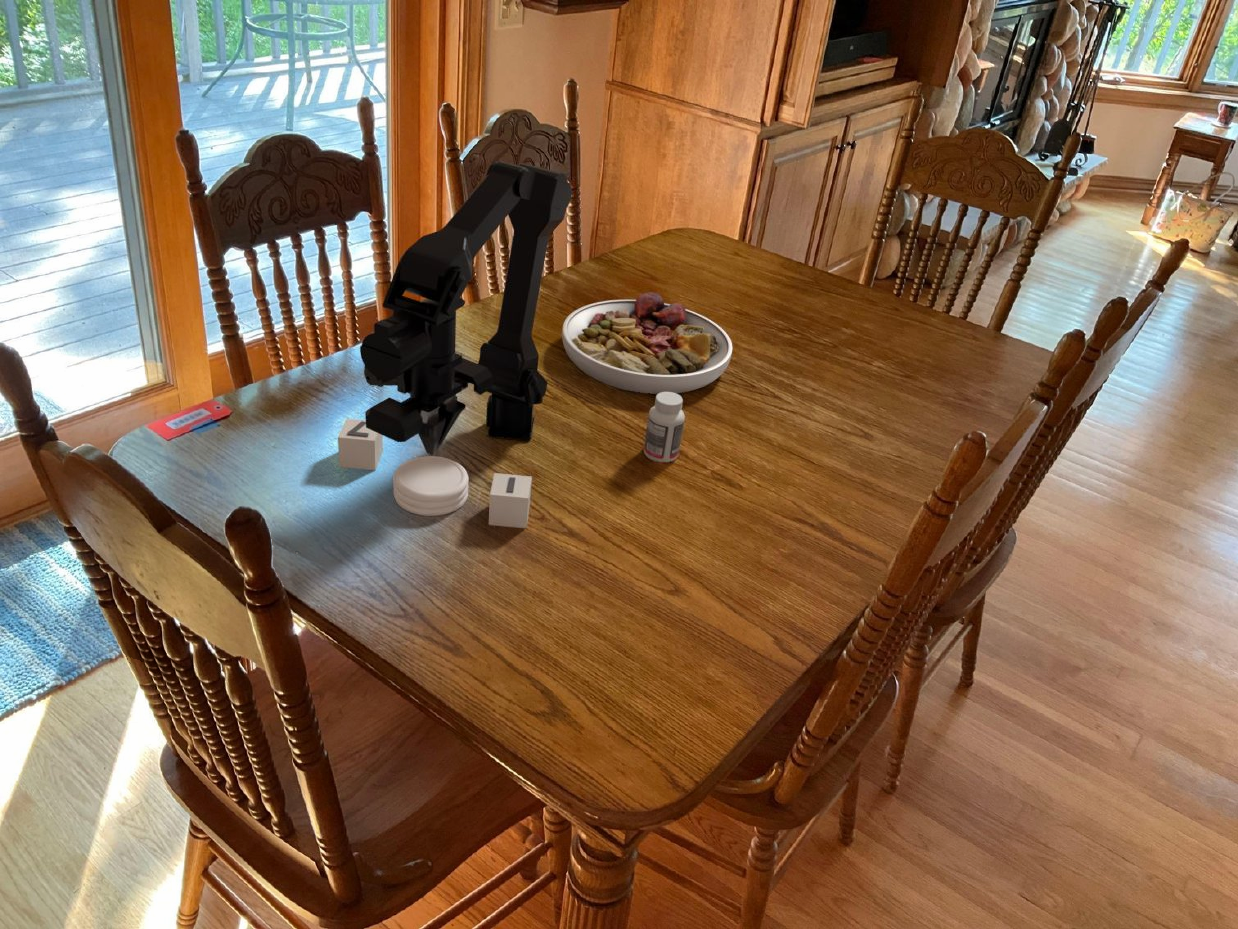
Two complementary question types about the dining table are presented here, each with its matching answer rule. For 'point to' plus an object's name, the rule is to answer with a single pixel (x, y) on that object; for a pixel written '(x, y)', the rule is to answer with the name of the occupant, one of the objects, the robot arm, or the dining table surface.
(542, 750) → the dining table surface
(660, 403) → the pill bottle
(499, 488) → the block one
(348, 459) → the block seven
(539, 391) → the robot arm
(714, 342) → the bowl
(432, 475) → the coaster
